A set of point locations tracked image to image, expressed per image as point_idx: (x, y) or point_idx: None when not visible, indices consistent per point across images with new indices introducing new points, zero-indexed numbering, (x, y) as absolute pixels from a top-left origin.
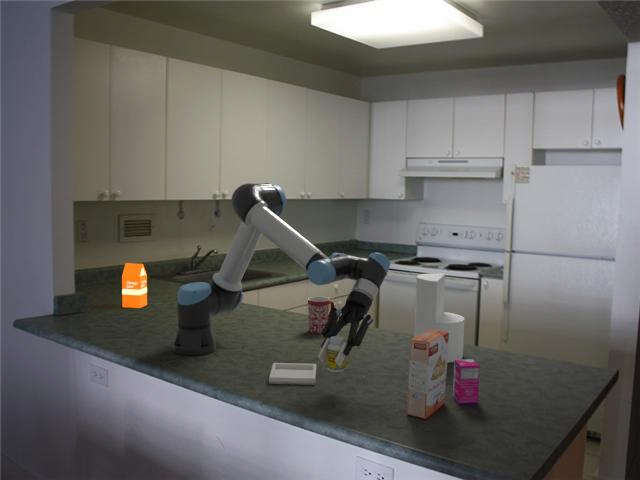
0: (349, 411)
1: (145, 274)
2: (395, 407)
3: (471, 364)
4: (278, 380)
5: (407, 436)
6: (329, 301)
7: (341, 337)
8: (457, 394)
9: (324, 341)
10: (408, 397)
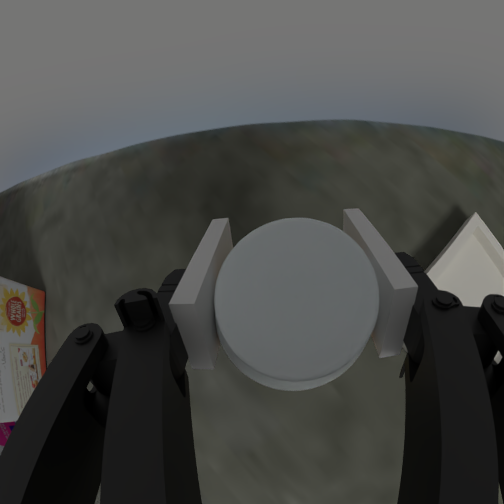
0: (153, 215)
1: None
2: (76, 321)
3: None
4: (458, 233)
5: (33, 206)
6: None
7: (264, 349)
8: (4, 423)
9: (422, 282)
10: (13, 281)
